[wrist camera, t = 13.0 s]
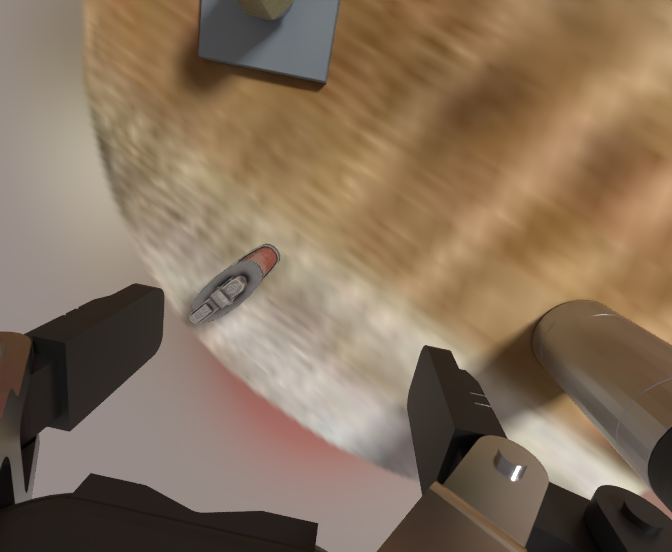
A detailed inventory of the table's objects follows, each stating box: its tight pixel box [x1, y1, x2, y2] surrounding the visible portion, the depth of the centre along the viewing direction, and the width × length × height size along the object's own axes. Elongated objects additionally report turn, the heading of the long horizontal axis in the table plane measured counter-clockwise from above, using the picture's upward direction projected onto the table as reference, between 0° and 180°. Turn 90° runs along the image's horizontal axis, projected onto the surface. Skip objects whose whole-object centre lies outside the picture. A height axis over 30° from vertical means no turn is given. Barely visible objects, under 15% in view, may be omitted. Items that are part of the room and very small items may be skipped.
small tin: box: [189, 244, 280, 324], centre depth 35 cm, size 8×3×10 cm, turn 128°
